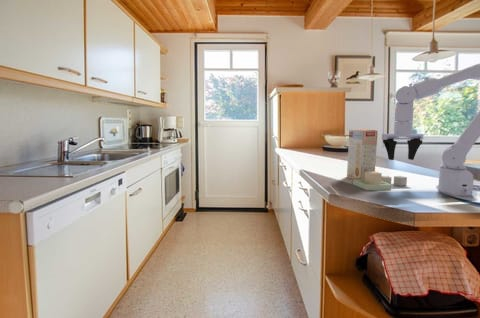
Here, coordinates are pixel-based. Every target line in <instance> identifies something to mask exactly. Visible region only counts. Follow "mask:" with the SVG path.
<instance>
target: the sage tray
mask: <svg viewBox="0 0 480 318" xmlns="http://www.w3.org/2000/svg"><path fill="white" fill-rule="evenodd" d="M364 182H365V179H353V180H352V185H354V186H356V187H357V188H358V187H359V188H361V189H363V190H365V191H377V190H378V191H385V190H387V191H389V190H390V191H391V190H392V189H391V184H392V183H391V184H388V183H386V182H383V181H381V184H380V185H367V184H364Z"/></svg>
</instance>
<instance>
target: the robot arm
mask: <svg viewBox="0 0 480 318" xmlns="http://www.w3.org/2000/svg"><path fill="white" fill-rule="evenodd" d="M467 80H476V81H477V80H478V81H480V62H479V63H475V64H474V65H470V66H467V67H465V68H462V69H461V70H457V71H455V72H453V73H449V74H447V75H445V76H442V77H440V78H436V77H435V76H434V77H433V76H431V77H429V76H426V77H424V78H423V80H421V81H418V82H415V83H412V82H411V83H409V84H408V85H405V86H404V85H403V86H402V87H400V88H399V89H398V90H397V91H396V92H395V99H396V103H395V112H394V125H393V126H394V128H393V133H382V134H381V140H382V143H383V144H384V147H385V150H386V153H387V156H388V160H389V161H394V160H395V152H396V151H395V150H396V147H397V143H398V142H397V140H407V141H406V142H407V148H408V150H407V151H408V152H407V159H408V160H411V161H414V159H415V156H416V154H417V152H418V149H419V148H420V146H421V145H422V144H423V140H424V134H423V133H413V125H414V124H413V123H414V110H415V109H414V101H415V100H416V101H419V100H422V99H424V98H428V97H430V96H431V97H432V96H433V95H437V94H438V93H439V92H440V91H441V89H442V88H445V87H448V86H451V85H455V84H457V83H461V82H463V81H467ZM479 138H480V110H479V111H478V112H477V114H475V116H474V117H473V119H472V120H471V121H470V123H469V124H468V125H467V126H466V128H465V129H464V130H463V132H462V133H461V134H460V136H459V137H458V138H457V139H456V140H455V142H454V143H453V144H452V145H451V146H449V147H447V148H446V149H444V151H443V153H442V156H441V159H442V162H443V164H440V165H439V173H438V174H439V175H438V187H437V191H439V192H440V193H444V194H450V195H452V196H473V189H474V175H473V173H472V172H471V171H469V170H468V169H467V166H466V165H465V162H466V160H467V158H466V157H467V155H468V153H469V152H470V151H471V149H472V148H473V146H474V145H475V143H476V142H477V140H478V139H479Z"/></svg>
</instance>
